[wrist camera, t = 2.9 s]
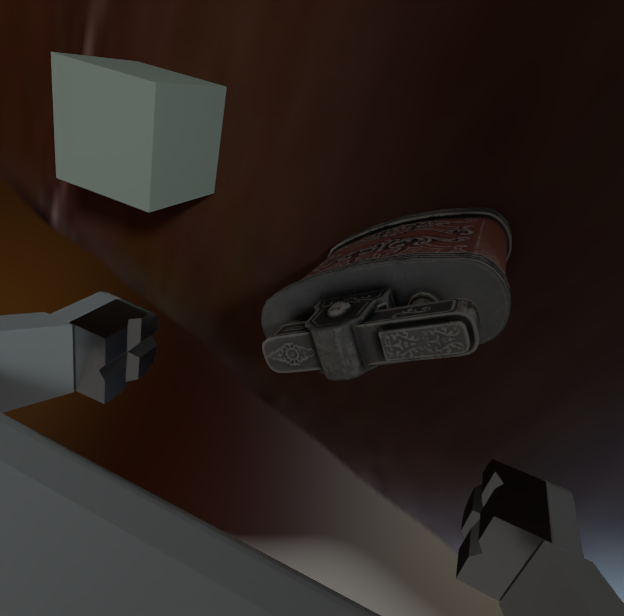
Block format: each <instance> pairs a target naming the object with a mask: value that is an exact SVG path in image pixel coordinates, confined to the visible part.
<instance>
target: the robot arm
mask: <svg viewBox="0 0 624 616" xmlns="http://www.w3.org/2000/svg"><path fill="white" fill-rule="evenodd" d="M157 331H158V317H157V316H156V315H155V314H154V313H152V312H150V311H148V310H145V309H143V308H141V307H139V306H137V305H134V304H132V303H130V302H128V301H126V300H123V299H120V298H119V297H116V296H114V295H112V294H110V293H107V292H98V293H96V294H94V295H91V296H89V297H87V298H85V299H82V300H81V301H78V302H76V303H74V304H71V305H69V306H67V307H65V308H62V309H61V310H58V311H56V312H54V313H52V314H48V313H45V312H39V313H26V314H13V315H0V616H380V615H378V614H377V613H375V612H373V611H371V610H369V609H367V608H365V607H363V606H362V605H360V604H358V603H356V602H354V601H352V600H350V599H349V598H347V597H345V596H343V595H341V594H339V593H337V592H335V591H334V590H332V589H330V588H328V587H326V586H324V585H322V584H321V583H319V582H317V581H315V580H313V579H311V578H309V577H307V576H306V575H304V574H302V573H300V572H298V571H296V570H294V569H292V568H291V567H289V566H287V565H285V564H283V563H281V562H279V561H278V560H275V559H274V558H272V557H270V556H268V555H266V554H265V553H263V552H261V551H259V550H257V549H255V548H253V547H252V546H250V545H248V544H246V543H244V542H242V541H240V540H238V539H237V538H235V537H233V536H231V535H229V534H227V533H225V532H223V531H222V530H219V529H218V528H216V527H214V526H212V525H210V524H208V523H207V522H205V521H203V520H201V519H199V518H197V517H195V516H193V515H192V514H190V513H188V512H186V511H184V510H182V509H180V508H179V507H176V506H175V505H173V504H171V503H169V502H167V501H165V500H164V499H162V498H160V497H158V496H156V495H154V494H152V493H150V492H149V491H147V490H145V489H143V488H141V487H139V486H137V485H135V484H134V483H132V482H130V481H128V480H126V479H124V478H122V477H120V476H118V475H117V474H115V473H113V472H111V471H109V470H107V469H105V468H104V467H102V466H100V465H98V464H96V463H94V462H92V461H90V460H89V459H87V458H84V457H83V456H81V455H79V454H77V453H76V452H74V451H72V450H70V449H68V448H66V447H64V446H62V445H61V444H59V443H57V442H55V441H53V440H51V439H49V438H47V437H46V436H44V435H42V434H40V433H38V432H36V431H34V430H32V429H31V428H29V427H27V426H25V425H23V424H21V423H19V422H17V421H16V420H14V419H12V418H10V417H8V416H6V415H4V414H2V413H3V412H6V411H10V410H14V409H17V408H20V407H24V406H28V405H31V404H34V403H38V402H41V401H45V400H48V399H52V398H55V397H58V396H62V395H66V394H69V393H73V392H74V390H75V391H77V392H79V393H82V394H84V395H86V396H88V397H90V398H92V399H95V400H97V401H99V402H101V403H103V404H105V403H107V402H108V401H109V400H111V399H112V398H113V397H115V396H116V395H117V394H119V393H120V392H122V391H123V390H124V389H125V386H126V382H127V381H131V380H137V379H139V378H140V377H142V376H143V375H144V374H145V373H146V372H147V371H148V370H149V368H150V367H151V365H152V364H153V362H154V359H155V356H156V350H157V345H156V342H155V340H154V338H153V336H152V335H153V334H154V333H156V332H157ZM461 533H462V535H463V536H464V538H465V539H464V541H463V543H462V545H461V546H460V548H459V552H458V563H457V572H456V573H457V574H456V579H458V580H460V581H462V582H464V583H466V584H468V585H469V586H471V587H473V588H475V589H477V590H479V591H481V592H483V593H485V594H486V595H488V596H490V597H492V598H494V599H496V600H498V601H500V603H499V604H500V607H501V609H502V612H503V614H504V616H624V603H623V602H622V601H621V599H620V598H619V597H618V595H617V594H616V593H615V591H614V590H613V589H612V588H611V586H610V585H609V584H608V582H607V581H606V580H605V578H604V577H603V576H602V574H601V573H600V572H599V570H598V569H597V568H596V566H595V565H594V564H593V562H591V561H588V560H586V559H584V554H583V549H582V543H581V538H580V532H579V527H578V521H577V515H576V510H575V504H574V499H573V494H572V493H571V491H570V490H569V489H566V488H564V487H561V486H559V485H556V484H554V483H551V482H549V481H546V480H544V479H543V480H541V479H539V478H537V477H534V476H532V475H529V474H527V473H525V472H522V471H520V470H518V469H515V468H513V467H511V466H508V465H506V464H503V463H501V462H499V461H496V460H494V459H492V460H491V461H490V462H489V463H488V465H487V466H486V468H485V470H484V472H483V480H482V485H480V486H477V487H475V488H474V490H473V492H472V493H471V495H470V497H469V499H468V502H467V505H466V508H465V510H464V514H463V519H462V525H461Z"/></svg>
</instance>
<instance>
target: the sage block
mask: <svg viewBox="0 0 624 616" xmlns="http://www.w3.org/2000/svg"><path fill="white" fill-rule="evenodd" d="M51 66H52V89H53V112H54V135H55V158H56V178H58V179H61V180H64V181H66V182H69V183H72V184H74V185H77V186H80V187H82V188H85V189H88V190H90V191H93V192H96V193H98V194H101V195H104V196H106V197H109V198H112V199H114V200H117V201H120V202H122V203H125V204H128V205H130V206H133V207H136V208H138V209H141V210H143V211H146V212H153V211H156V210H159V209H163V208H166V207H169V206H173V205H176V204H180V203H183V202H186V201H190V200H193V199H196V198H200V197H203V196H207V195H210V194H213V193H214V189H215V180H216V172H217V163H218V155H219V147H220V138H221V130H222V122H223V113H224V105H225V96H226V88H227V87H225V86H222V85H218V84H215V83H211V82H208V81H204V80H201V79H197V78H194V77H190V76H187V75H183V74H180V73H176V72H173V71H169V70H166V69H162V68H158V67H155V66H151V65H148V64H144V63H141V62H137V61H128V60H120V59H111V58H102V57H93V56H84V55H75V54H66V53H57V52H51Z"/></svg>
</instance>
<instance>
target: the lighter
mask: <svg viewBox="0 0 624 616" xmlns="http://www.w3.org/2000/svg"><path fill="white" fill-rule="evenodd" d="M511 249H512V233H511V230H510V227H509V224H508V222H507V221H506V220H505V218H504V217H503V216H502V215H501V214H500V213H498V212H496V211H495V210H493V209H489V208H482V207H481V208H461V209H443V210H437V211H431V212H425V213H419V214H413V215H407V216H403V217H400V218H397V219H394V220H391V221H388V222H385V223H381V224H378V225H375V226H372V227H370V228H368V229H366V230H363V231H361V232H359V233H357V234H355V235H353V236H350V237H348V238H346V239H344V240H343V241H341V242H340V243H339V244H337V245H336V246H335V247H334V248H332V250H331V251H330V253H329V255H328V258H327V259H326V260H325V261H323V262H322V263H321V264H320V265H318V266H317V267H316V268H315V269H314V270H312V271H311V272H310V273H309V274H308V275H306V276H305V277H304V278H303V279H302V280H300V281H297V282H295V283H293V284H290V285H288V286H286V287H284V288H282V289H281V290H280V291H278V292H277V293H276V294H275V295H273V296H272V297H271V298H270V299H268V300H267V301H266V303H265V305H264V307H263V309H262V317H261V323H262V328H263V332H264V335H265V337H266V340H265V341H264V342H263V345H262V350H263V354H264V357H265V360H266V362H267V364H268V366H269V367H270V368H271V369H272V370H273V371H275V372H278V373H291V372H301V371H312V370H320V372H321V373H322V374H324V375H325V377H326V378H327V379H328V380H332V381H339V380H349V379H353V378H356V377H358V376H361V375H362V374H364V373H365V372H367V371H369V370H372V369H374V368H376V367H377V366H378V365H389V364H396V363H402V362H408V361H415V360H425V359H436V358H446V357H457V356H463V355H468V354H471V353H472V352H474V351H475V350H476V348H477V346H478V345H479V344H483V343H485V342H487V341H489V340H491V339H493V338H495V337H496V336H497V335H498V334H499V333H500V332H501V331H502V330H503V328H504V327H505V326H506V323H507V320H508V318H509V315H510V286H509V283H508V281H507V278H506V275H505V274H506V261H507V260H508V258H509V255H510V252H511Z"/></svg>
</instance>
